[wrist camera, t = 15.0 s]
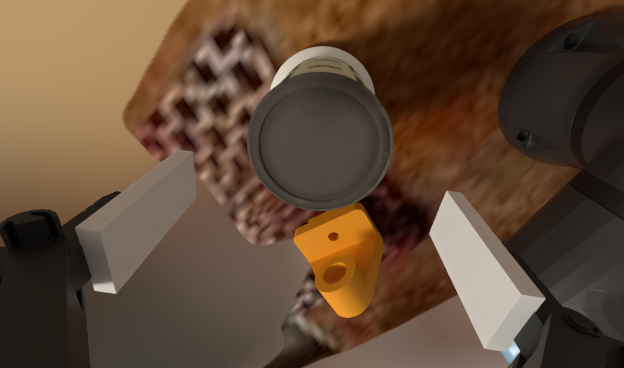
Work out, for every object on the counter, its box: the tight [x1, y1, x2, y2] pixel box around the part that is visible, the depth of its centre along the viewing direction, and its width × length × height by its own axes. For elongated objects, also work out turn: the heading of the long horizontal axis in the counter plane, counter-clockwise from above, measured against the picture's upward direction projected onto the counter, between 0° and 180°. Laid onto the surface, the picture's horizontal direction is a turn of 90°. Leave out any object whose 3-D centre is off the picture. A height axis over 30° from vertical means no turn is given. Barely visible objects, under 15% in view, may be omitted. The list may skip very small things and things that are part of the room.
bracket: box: [294, 202, 384, 318], centre depth 37 cm, size 11×7×12 cm, turn 121°
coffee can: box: [247, 56, 394, 211], centre depth 26 cm, size 10×10×14 cm
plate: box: [270, 46, 375, 95], centre depth 33 cm, size 12×12×1 cm
